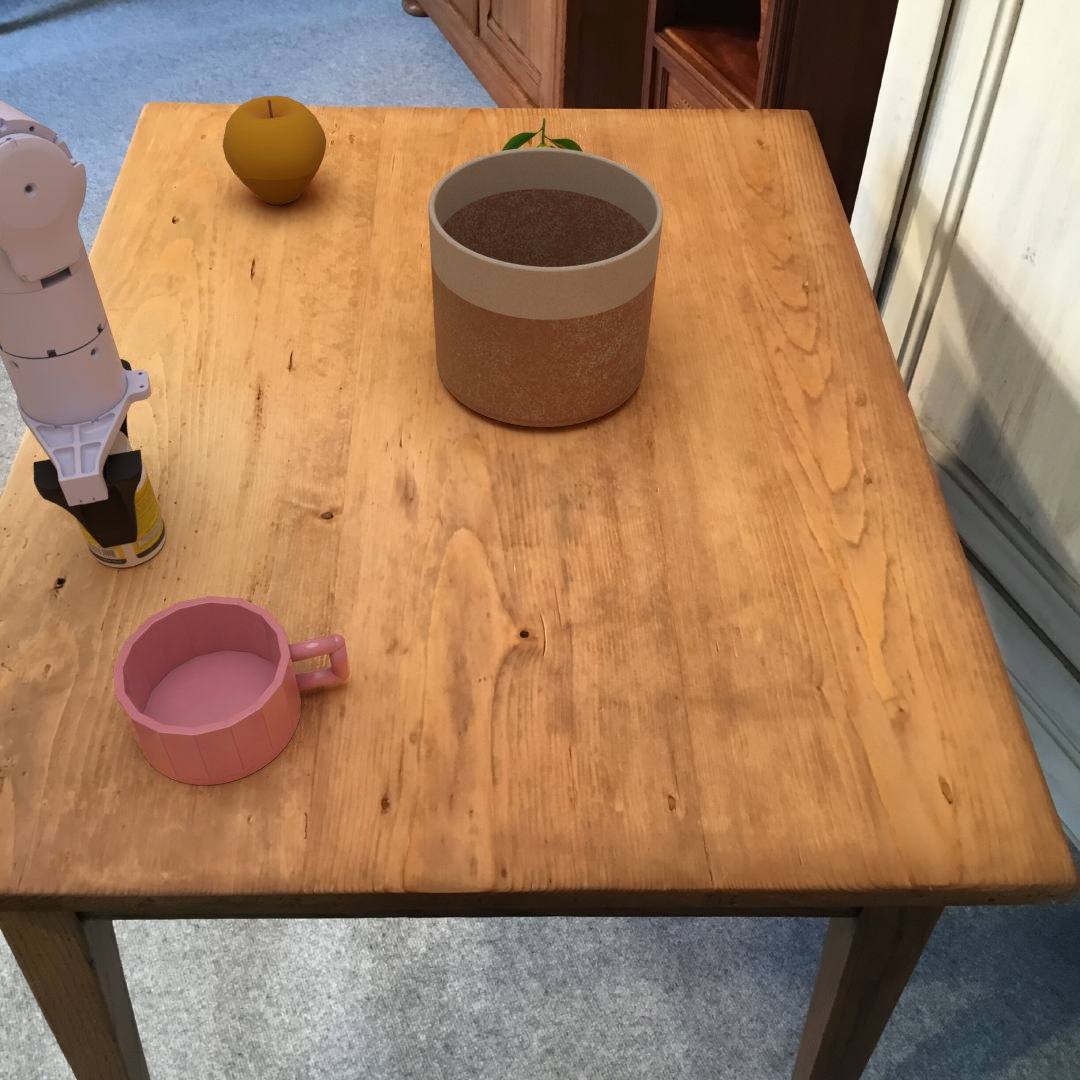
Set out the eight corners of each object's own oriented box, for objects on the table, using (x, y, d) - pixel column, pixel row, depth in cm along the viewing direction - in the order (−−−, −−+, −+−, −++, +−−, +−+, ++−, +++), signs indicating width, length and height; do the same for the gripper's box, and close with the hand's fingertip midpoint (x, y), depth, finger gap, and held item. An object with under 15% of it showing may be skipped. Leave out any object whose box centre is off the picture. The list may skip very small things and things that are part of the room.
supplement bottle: (160, 505, 72) (131, 413, 65) (172, 558, 69) (143, 468, 62) (85, 523, 70) (47, 430, 64) (94, 578, 68) (55, 487, 61)
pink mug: (143, 804, 57) (118, 753, 53) (131, 671, 63) (109, 616, 59) (368, 747, 60) (359, 695, 56) (337, 624, 66) (328, 570, 62)
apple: (338, 218, 97) (326, 121, 90) (235, 228, 95) (216, 130, 89) (327, 168, 103) (316, 74, 96) (231, 176, 101) (212, 81, 95)
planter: (651, 317, 88) (671, 158, 78) (633, 447, 77) (654, 281, 67) (459, 296, 89) (454, 136, 79) (415, 420, 79) (403, 254, 68)
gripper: (138, 397, 54) (194, 577, 64) (121, 243, 63) (172, 420, 73) (-14, 423, 52) (68, 603, 62) (-9, 260, 61) (62, 440, 71)
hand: (116, 506), depth 67 cm, fingers open, 5 cm apart
